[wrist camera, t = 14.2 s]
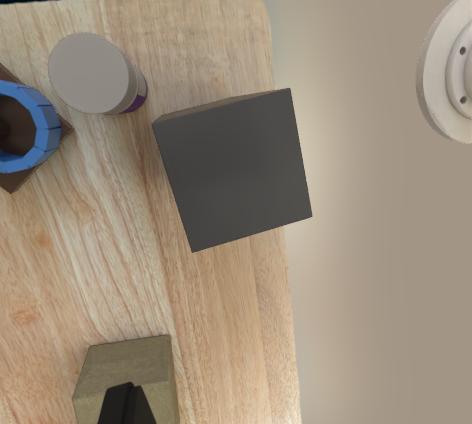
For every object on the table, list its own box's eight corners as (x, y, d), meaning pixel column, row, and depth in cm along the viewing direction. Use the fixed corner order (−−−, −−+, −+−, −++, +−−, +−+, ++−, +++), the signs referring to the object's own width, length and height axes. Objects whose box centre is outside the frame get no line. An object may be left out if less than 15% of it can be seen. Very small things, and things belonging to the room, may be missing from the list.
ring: (8, 64, 30) (-12, 59, 27) (78, 127, 33) (67, 129, 30) (-48, 124, 31) (-74, 126, 28) (25, 181, 34) (9, 189, 30)
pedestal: (234, 96, 36) (290, 87, 19) (250, 168, 39) (312, 216, 22) (160, 115, 35) (151, 123, 18) (182, 187, 38) (191, 253, 21)
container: (108, 117, 34) (63, 124, 20) (91, 68, 33) (31, 39, 19) (153, 106, 35) (141, 106, 21) (139, 57, 33) (116, 22, 19)
